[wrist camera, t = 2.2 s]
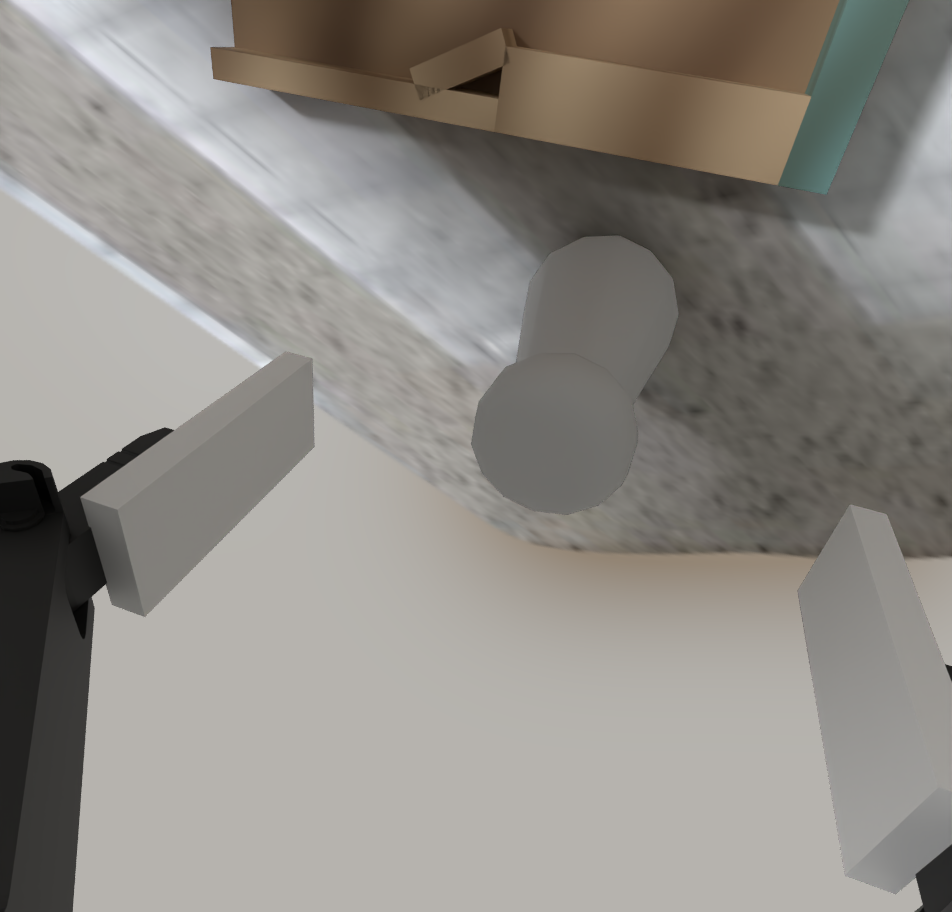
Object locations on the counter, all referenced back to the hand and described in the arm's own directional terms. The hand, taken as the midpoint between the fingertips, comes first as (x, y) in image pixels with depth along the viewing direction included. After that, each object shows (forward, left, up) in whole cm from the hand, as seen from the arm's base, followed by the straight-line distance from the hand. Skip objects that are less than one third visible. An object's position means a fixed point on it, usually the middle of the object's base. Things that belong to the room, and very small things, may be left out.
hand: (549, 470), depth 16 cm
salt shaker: (0, 0, -13) cm, 13 cm away
